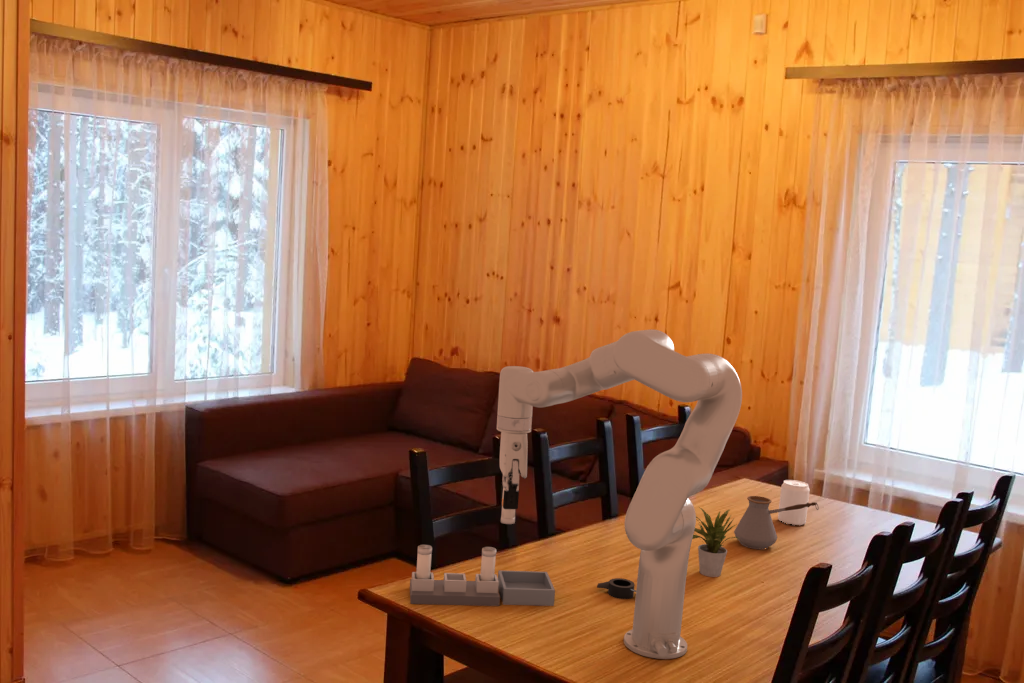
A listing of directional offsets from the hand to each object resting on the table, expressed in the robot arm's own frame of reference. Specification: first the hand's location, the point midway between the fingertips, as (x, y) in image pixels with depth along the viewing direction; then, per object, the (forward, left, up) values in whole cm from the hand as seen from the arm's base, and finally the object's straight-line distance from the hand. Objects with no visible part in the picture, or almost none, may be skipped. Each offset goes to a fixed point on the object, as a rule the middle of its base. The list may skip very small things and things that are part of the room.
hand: (509, 505), depth 214 cm
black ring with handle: (+3, -28, -21) cm, 35 cm away
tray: (+1, -5, -21) cm, 21 cm away
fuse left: (-1, +18, -19) cm, 26 cm away
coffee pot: (+39, -78, -21) cm, 90 cm away
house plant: (+20, -54, -21) cm, 61 cm away
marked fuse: (0, 0, -4) cm, 4 cm away
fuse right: (-1, +4, -19) cm, 19 cm away
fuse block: (-1, +11, -21) cm, 23 cm away
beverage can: (+64, -94, -21) cm, 116 cm away
